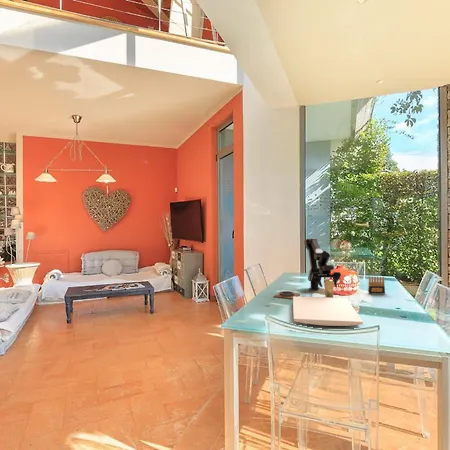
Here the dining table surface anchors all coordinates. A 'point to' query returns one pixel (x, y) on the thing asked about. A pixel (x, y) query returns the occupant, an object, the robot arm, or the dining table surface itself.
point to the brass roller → (329, 288)
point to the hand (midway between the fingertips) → (328, 286)
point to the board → (325, 311)
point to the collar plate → (286, 295)
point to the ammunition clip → (376, 285)
